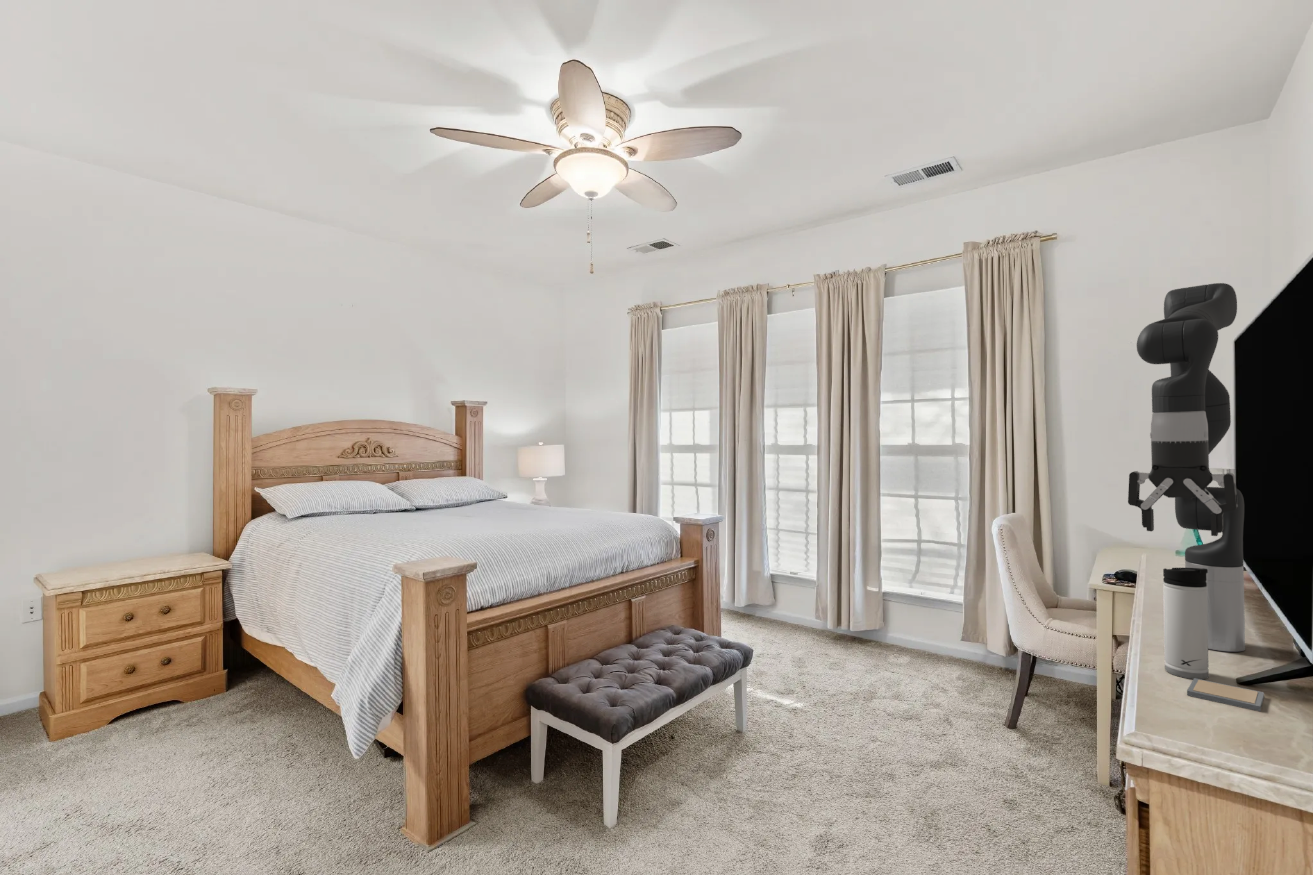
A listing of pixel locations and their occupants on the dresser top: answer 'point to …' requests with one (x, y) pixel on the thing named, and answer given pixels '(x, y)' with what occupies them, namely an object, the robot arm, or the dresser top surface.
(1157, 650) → the dresser top surface
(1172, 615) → the travel mug
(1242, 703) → the slate coaster
